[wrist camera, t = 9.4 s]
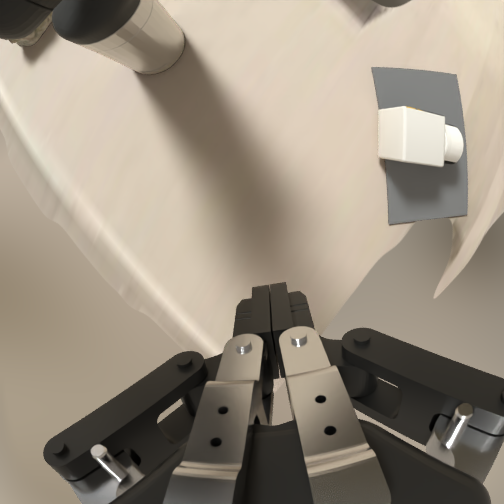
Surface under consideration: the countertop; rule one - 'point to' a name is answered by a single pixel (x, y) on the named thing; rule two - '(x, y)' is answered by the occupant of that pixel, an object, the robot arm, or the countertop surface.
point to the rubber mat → (417, 175)
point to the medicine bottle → (417, 137)
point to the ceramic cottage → (34, 33)
